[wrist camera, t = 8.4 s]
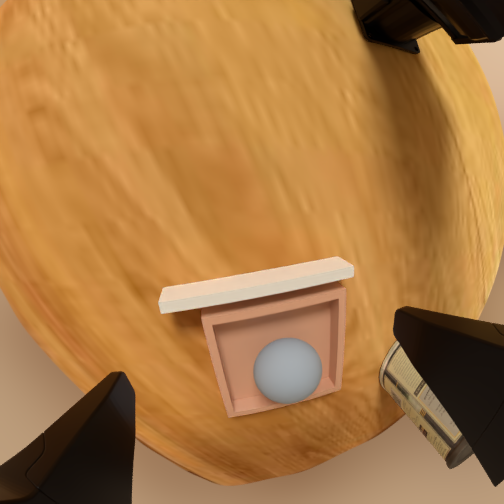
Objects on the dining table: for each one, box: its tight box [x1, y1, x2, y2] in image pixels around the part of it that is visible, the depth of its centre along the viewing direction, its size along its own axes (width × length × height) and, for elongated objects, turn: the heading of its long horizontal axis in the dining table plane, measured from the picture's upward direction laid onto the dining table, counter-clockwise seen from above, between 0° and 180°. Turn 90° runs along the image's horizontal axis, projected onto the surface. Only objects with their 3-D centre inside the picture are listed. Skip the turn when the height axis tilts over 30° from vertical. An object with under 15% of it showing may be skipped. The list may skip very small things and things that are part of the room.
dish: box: [201, 281, 346, 418], centre depth 20 cm, size 10×10×2 cm
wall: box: [158, 256, 354, 314], centre depth 18 cm, size 13×1×2 cm, turn 98°
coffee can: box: [379, 341, 474, 469], centre depth 19 cm, size 10×10×14 cm
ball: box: [253, 338, 322, 404], centre depth 18 cm, size 5×5×5 cm
